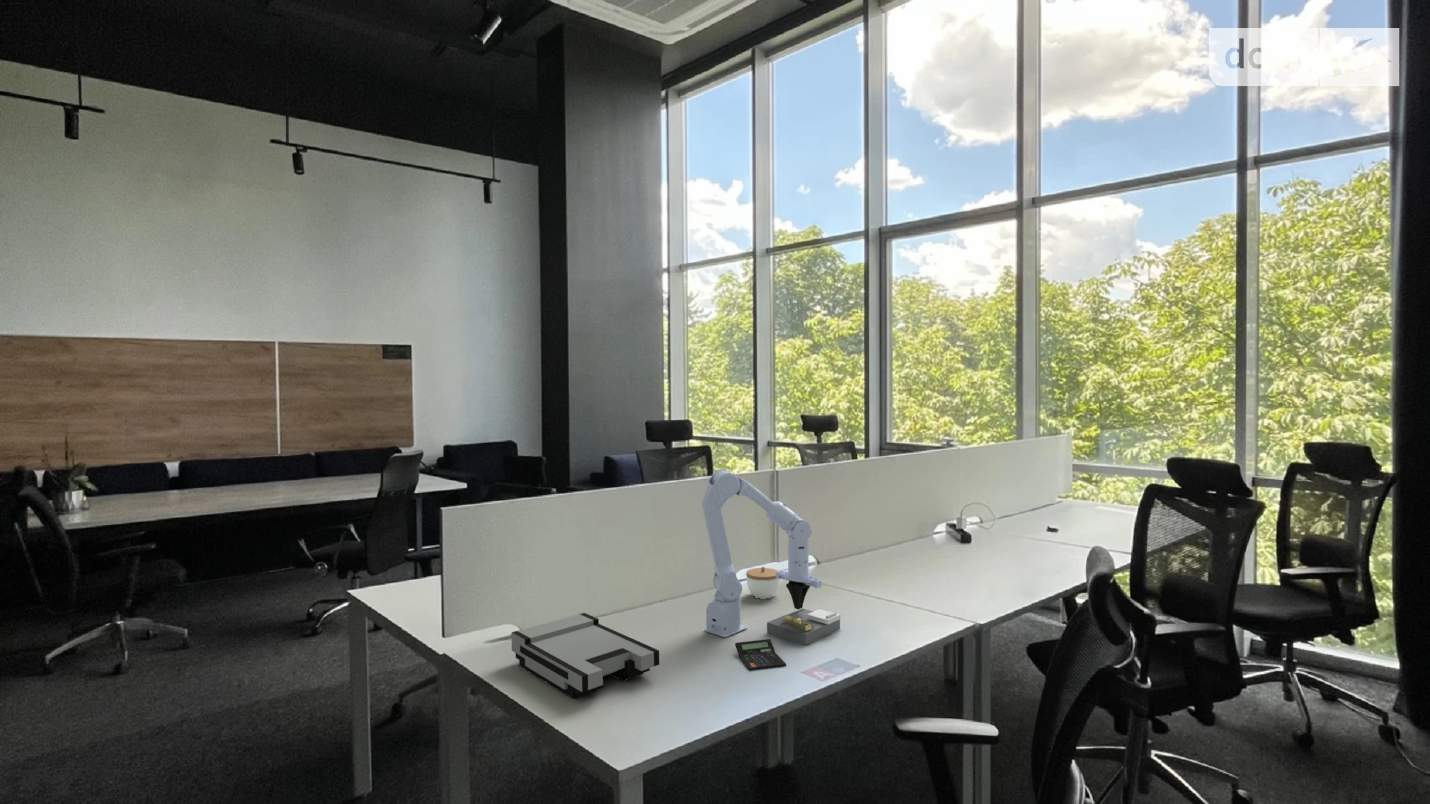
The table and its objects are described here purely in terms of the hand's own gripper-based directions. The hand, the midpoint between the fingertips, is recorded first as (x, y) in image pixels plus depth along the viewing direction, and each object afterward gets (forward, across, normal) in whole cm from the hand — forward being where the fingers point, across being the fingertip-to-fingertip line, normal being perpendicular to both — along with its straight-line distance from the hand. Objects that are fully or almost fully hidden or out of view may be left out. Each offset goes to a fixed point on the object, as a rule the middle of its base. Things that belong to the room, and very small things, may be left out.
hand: (798, 608), depth 198 cm
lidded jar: (+5, +24, -13) cm, 28 cm away
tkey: (+1, -6, +9) cm, 11 cm away
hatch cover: (+1, -8, 0) cm, 9 cm away
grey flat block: (+4, -5, +4) cm, 8 cm away
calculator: (+5, -8, +27) cm, 29 cm away
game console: (+5, +18, +61) cm, 64 cm away
